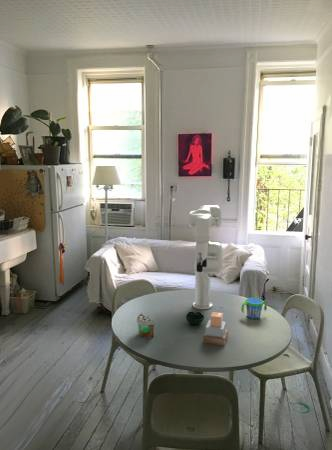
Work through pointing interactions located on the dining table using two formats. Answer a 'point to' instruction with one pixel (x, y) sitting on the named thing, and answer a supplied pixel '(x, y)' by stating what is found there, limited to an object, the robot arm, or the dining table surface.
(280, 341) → the dining table surface
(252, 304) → the snack cup
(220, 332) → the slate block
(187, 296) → the dining table surface
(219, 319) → the terracotta cube
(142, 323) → the food container
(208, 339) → the walnut slab
